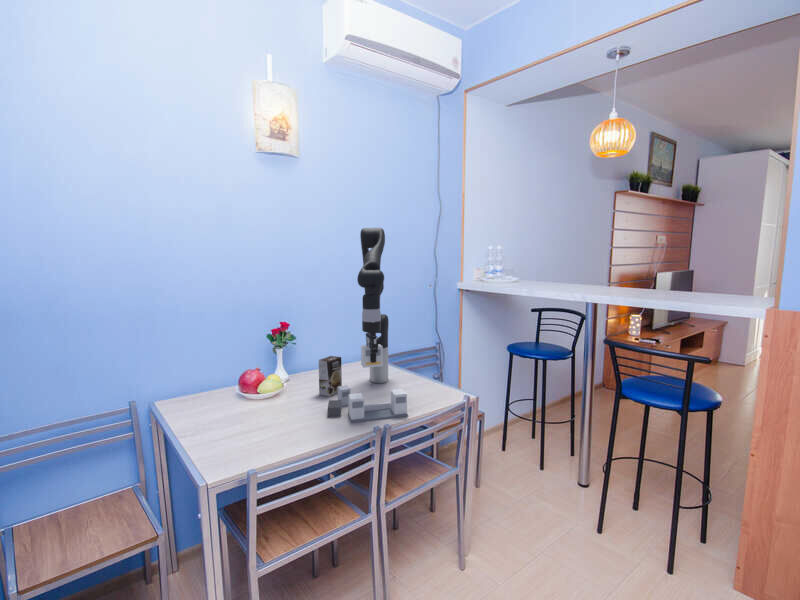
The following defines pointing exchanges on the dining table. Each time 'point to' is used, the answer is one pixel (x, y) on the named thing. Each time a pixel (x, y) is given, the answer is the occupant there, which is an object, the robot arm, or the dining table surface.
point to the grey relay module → (344, 395)
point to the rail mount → (377, 407)
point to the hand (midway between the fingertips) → (372, 360)
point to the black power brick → (334, 408)
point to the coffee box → (330, 375)
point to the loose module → (367, 359)
